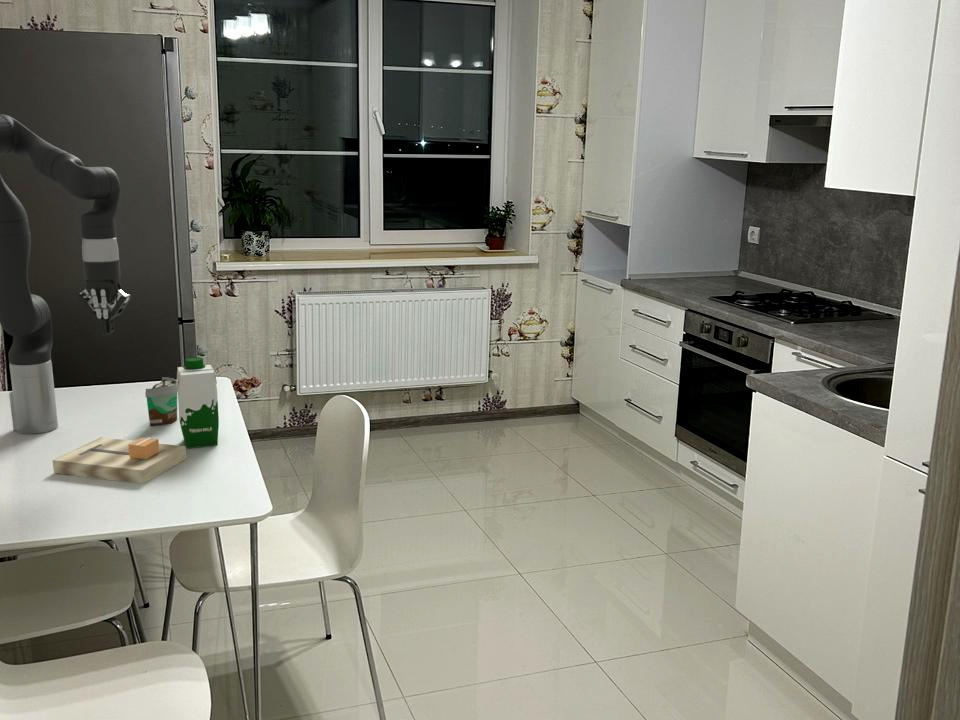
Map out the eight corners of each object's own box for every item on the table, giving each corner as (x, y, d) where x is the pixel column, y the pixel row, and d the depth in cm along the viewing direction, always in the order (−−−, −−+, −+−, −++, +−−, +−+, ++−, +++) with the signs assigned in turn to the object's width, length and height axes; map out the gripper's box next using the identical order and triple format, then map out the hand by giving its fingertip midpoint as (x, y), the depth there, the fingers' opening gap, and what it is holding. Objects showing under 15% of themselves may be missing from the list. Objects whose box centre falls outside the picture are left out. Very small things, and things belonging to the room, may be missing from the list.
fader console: (53, 473, 196) (52, 459, 195) (101, 449, 211) (100, 436, 210) (143, 483, 190) (142, 469, 190) (186, 458, 206) (185, 445, 205)
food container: (172, 428, 227) (169, 389, 225) (147, 427, 227) (144, 389, 225) (188, 413, 239) (186, 377, 237) (165, 413, 239) (162, 376, 237)
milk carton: (216, 434, 222) (212, 355, 218) (222, 446, 214) (217, 363, 210) (179, 439, 219) (173, 358, 214) (183, 450, 211) (177, 367, 206)
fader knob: (129, 457, 197) (128, 444, 196) (143, 450, 201) (142, 436, 201) (145, 459, 196) (144, 445, 195) (159, 451, 200) (158, 438, 200)
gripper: (137, 257, 205) (142, 333, 209) (86, 254, 208) (93, 329, 212) (116, 261, 198) (122, 339, 202) (64, 258, 201) (71, 335, 205)
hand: (107, 334), depth 207 cm, fingers closed
